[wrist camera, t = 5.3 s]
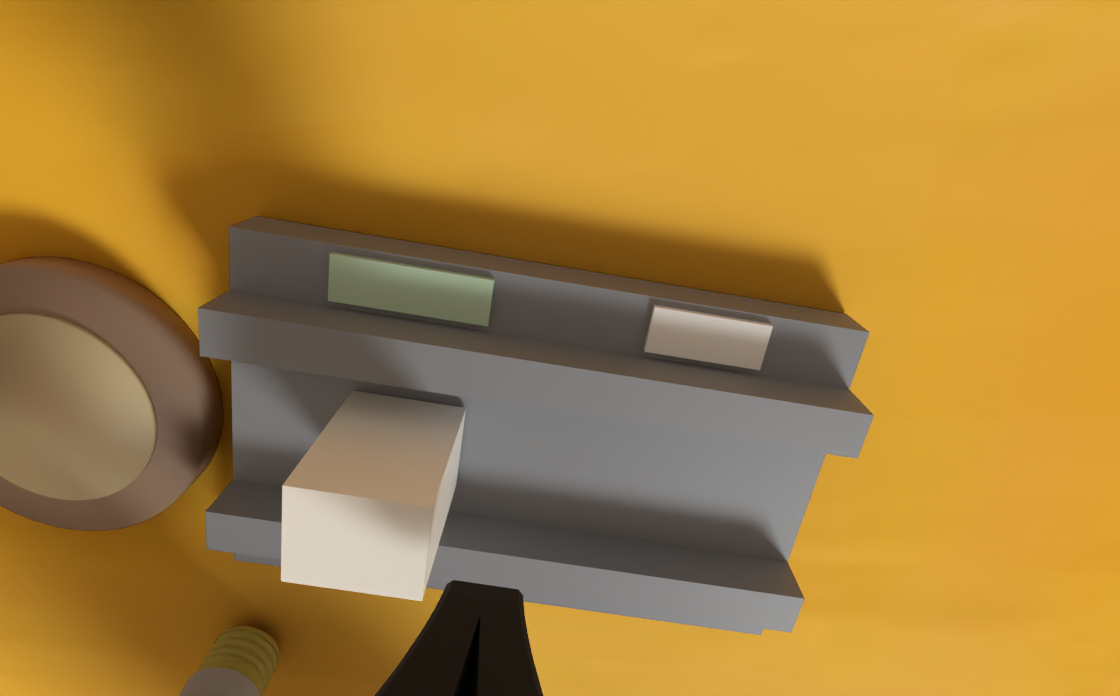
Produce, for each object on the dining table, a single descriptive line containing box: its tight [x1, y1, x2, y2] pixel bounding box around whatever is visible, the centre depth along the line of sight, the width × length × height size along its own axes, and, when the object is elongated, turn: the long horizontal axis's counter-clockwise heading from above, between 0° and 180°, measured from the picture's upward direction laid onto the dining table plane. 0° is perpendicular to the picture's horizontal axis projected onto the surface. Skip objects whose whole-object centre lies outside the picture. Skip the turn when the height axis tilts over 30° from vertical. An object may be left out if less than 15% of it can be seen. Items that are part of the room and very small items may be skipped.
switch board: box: [198, 216, 874, 635], centre depth 18 cm, size 10×16×3 cm, turn 81°
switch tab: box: [281, 391, 466, 601], centre depth 16 cm, size 2×3×4 cm
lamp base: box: [0, 257, 223, 531], centre depth 18 cm, size 8×8×1 cm
